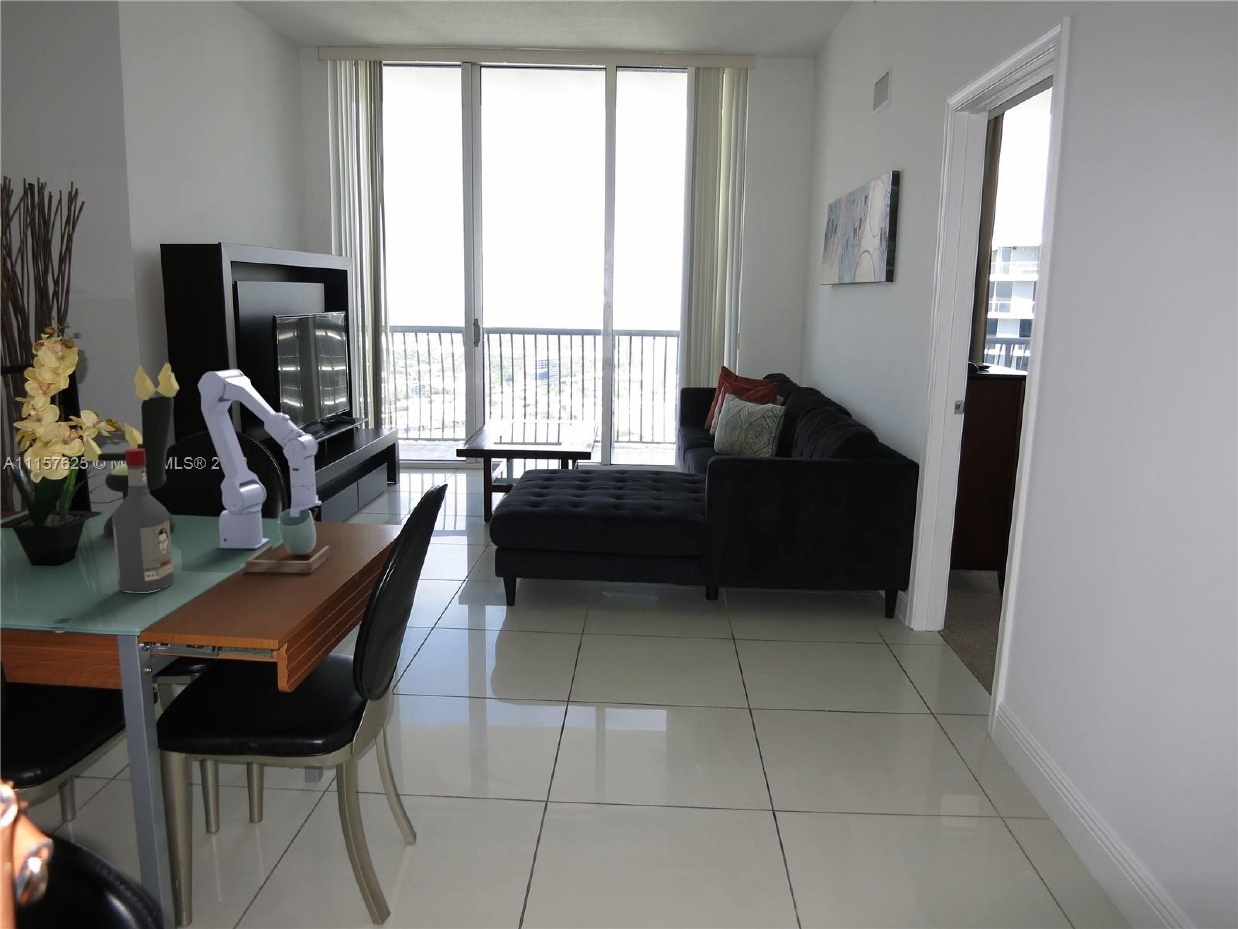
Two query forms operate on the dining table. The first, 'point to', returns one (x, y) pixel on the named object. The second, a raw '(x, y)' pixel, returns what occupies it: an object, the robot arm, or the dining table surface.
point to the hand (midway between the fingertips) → (306, 538)
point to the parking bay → (284, 562)
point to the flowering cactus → (143, 437)
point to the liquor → (141, 533)
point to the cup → (297, 531)
